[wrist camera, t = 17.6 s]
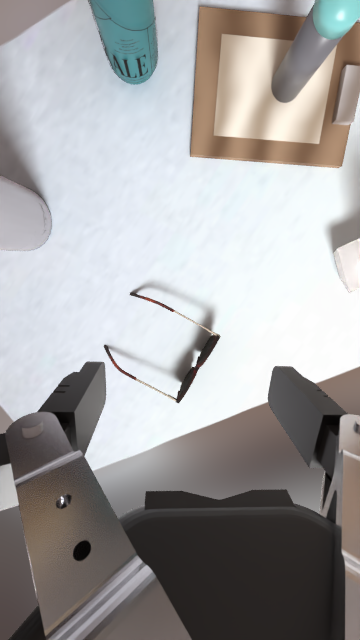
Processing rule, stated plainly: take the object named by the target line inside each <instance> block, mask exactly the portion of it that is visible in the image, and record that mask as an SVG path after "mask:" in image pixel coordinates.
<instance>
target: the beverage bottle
mask: <svg viewBox="0 0 360 640" xmlns="http://www.w3.org/2000/svg"><path fill="white" fill-rule="evenodd" d="M89 1H90V2H88V3H89V5H90V4H91V9H92V10H93V13H94V15H93V16H95V19H96V20H95V19H94V21H96V22H97V25H98V28H99V30H98V29H97V30H98V31H100V32H99V33H100V34H101V35H100V36H101V37H100V38H102V40H103V43H104V46H105V49H104V50H105V51H106V52H105V53H106V54H107V55H106V56H108V58H107V59H109V60H108V61H110V63H109V65H110V64H111V66H112V69H113V70H114V71H115V72H114V73H116V74H117V75H118V77H119V78H121V79H122V80H123V81H125V82H127V83H129V84H141V83H143V82H145V81H146V80H148V79H149V78H150V77H151V75H152V74H153V72H154V69H155V68H156V66H157V65H156V64H157V57H158V51H157V44H158V43H157V39H156V31H157V30H156V28H155V18H156V17H155V16H154V6H153V0H89ZM93 18H94V17H93ZM96 27H97V26H96ZM102 40H101V41H102ZM103 43H102V44H103ZM104 46H103V47H104ZM111 66H110V67H111Z"/></svg>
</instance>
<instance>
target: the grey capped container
mask: <svg viewBox="0 0 360 640" xmlns="http://www.w3.org/2000/svg"><path fill="white" fill-rule="evenodd" d="M359 17H360V0H315V3H314V5H313V7H312V9H311V11H310V12H309V14H308V16H307V18H306V19H305V21H304V23H303V25H302V27H301V28H300V30H299V32H298V34H297V35H296V37H295V39H294V41H293V43H292V44H291V46H290V48H289V50H288V52H287V53H286V55H285V57H284V59H283V60H282V62H281V64H280V66H279V68H278V69H277V71H276V73H275V75H274V77H273V79H272V84H271V89H272V93H273V96H274V97H275V99H276V100H278V101H279V102H282V103H288V102H290V101H292V100H294V99H295V98H296V97H297V95H298V94H299V93H300V91H301V90H302V89H303V88H304V86H305V85H306V84H307V82H308V81H309V80H310V79H311V77H312V76H313V75H314V73H315V72H316V71H317V70H318V68H319V67H320V66H321V64H322V63H323V62H324V60H325V59H326V58H327V57H328V55H329V54H330V53H331V51H332V50H333V49H334V48H335V46H336V45H337V44H338V42H339V41H340V40H341V39H342V37H343V36H344V35H345V34H346V33H347V32H348V31H349V30H350V29H351V28H352V26H353V25H354V24H355V22H356V21H357V20H358V19H359Z"/></svg>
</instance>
